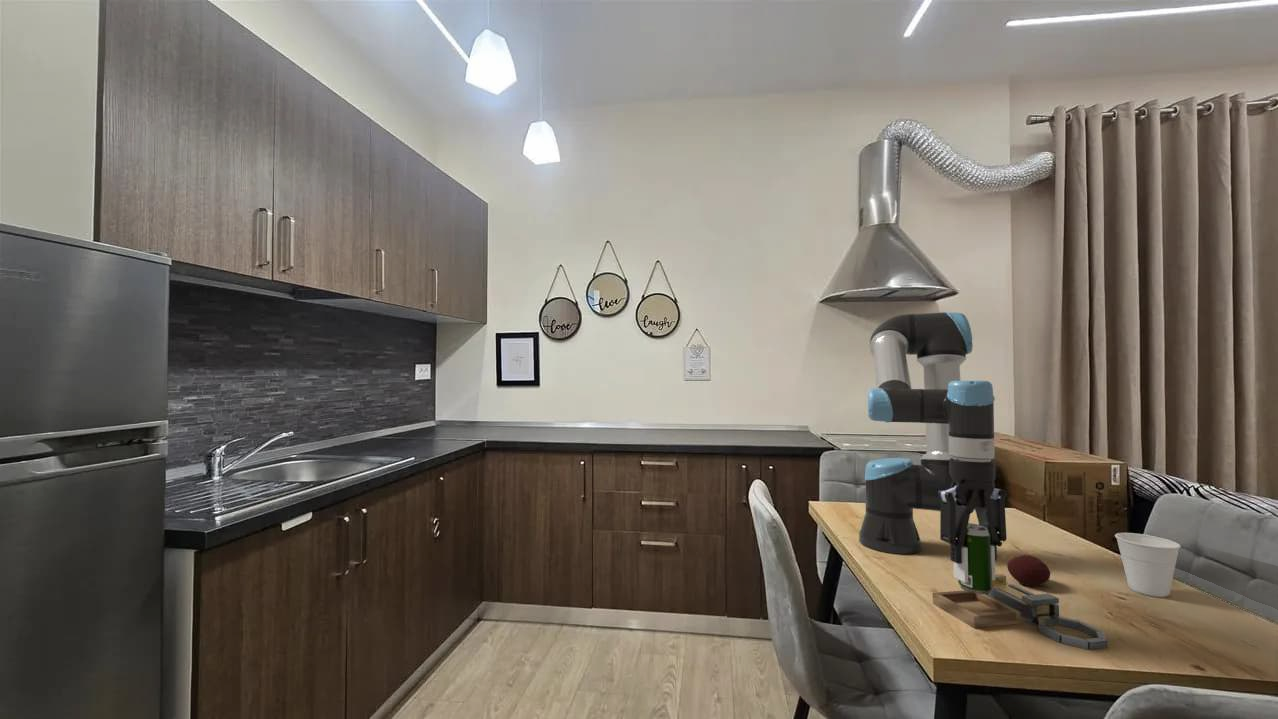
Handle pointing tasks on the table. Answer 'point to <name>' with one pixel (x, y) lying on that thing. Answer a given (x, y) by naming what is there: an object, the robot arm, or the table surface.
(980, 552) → the beer can
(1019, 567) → the potato
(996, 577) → the tan block
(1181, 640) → the table surface
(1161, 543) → the cup
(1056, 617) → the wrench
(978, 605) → the brown wooden square frame
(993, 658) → the table surface
